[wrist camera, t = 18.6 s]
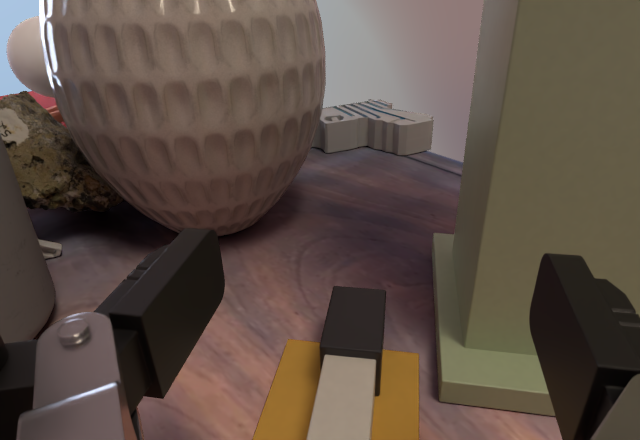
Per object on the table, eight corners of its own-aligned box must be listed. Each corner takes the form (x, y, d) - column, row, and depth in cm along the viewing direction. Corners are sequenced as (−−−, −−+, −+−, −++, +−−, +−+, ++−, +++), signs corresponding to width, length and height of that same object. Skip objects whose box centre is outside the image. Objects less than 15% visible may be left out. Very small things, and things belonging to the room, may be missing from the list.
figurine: (50, 14, 29) (134, 1, 39) (-29, 25, 30) (74, 10, 40) (96, 139, 33) (162, 96, 43) (25, 146, 33) (107, 103, 44)
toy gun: (440, 118, 44) (383, 96, 52) (300, 143, 39) (260, 115, 47) (437, 149, 46) (382, 123, 54) (301, 177, 40) (262, 144, 48)
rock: (98, 266, 31) (-54, 166, 24) (70, 222, 37) (-57, 133, 31) (158, 203, 32) (27, 91, 25) (120, 171, 38) (8, 75, 32)
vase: (60, 216, 34) (-64, -173, 24) (241, 158, 44) (210, -134, 34) (168, 317, 24) (31, -297, 13) (374, 212, 34) (388, -188, 23)
